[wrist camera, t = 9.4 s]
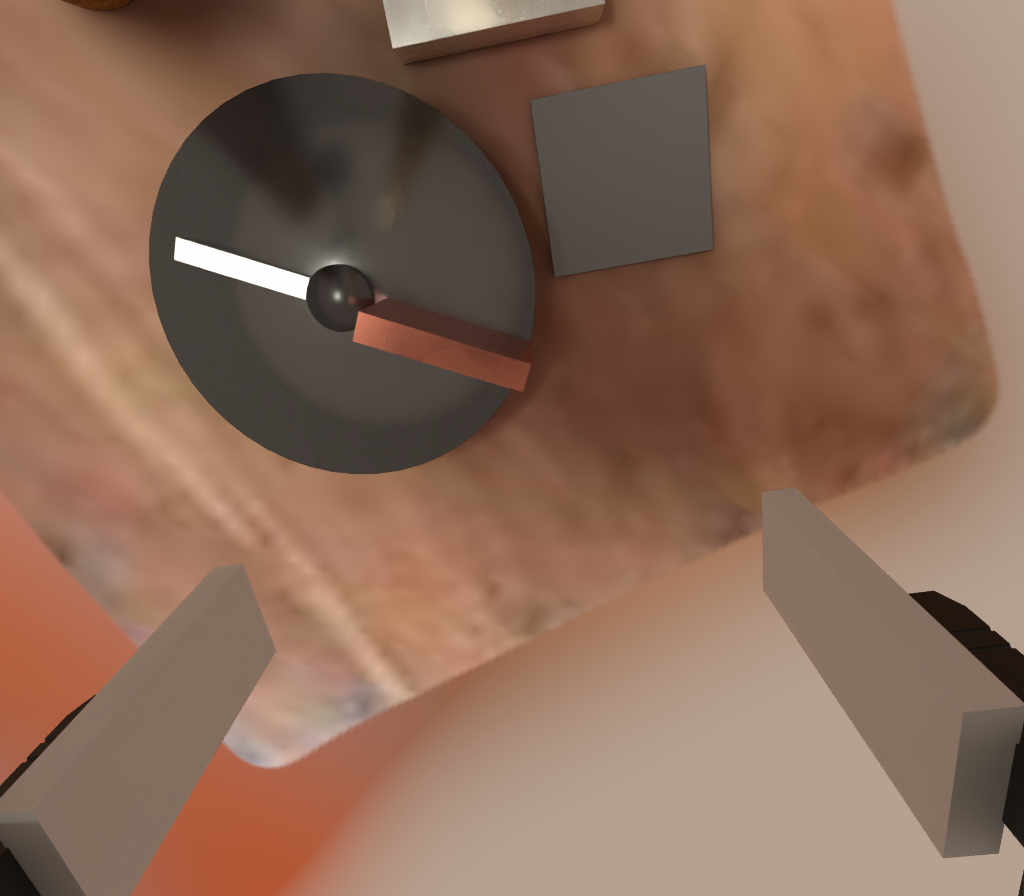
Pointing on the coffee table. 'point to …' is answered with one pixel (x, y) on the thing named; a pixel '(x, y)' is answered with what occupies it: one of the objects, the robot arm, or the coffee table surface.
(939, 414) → the coffee table surface
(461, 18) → the grey square frame
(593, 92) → the rest pad
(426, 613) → the coffee table surface
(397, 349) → the compass
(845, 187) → the coffee table surface
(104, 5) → the disposable coffee cup
